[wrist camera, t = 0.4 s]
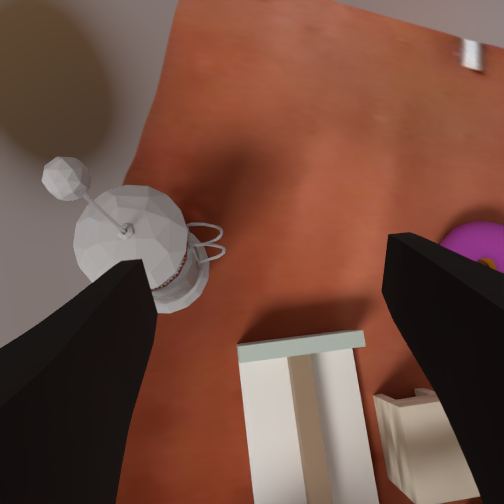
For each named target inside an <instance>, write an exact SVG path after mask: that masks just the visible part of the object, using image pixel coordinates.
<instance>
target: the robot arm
mask: <svg viewBox="0 0 504 504" xmlns="http://www.w3.org/2000/svg"><path fill="white" fill-rule="evenodd" d="M382 294H383V296H384V299H385V301H386V304H387V307H388V309H389V311H390V314H391V316H392V318H393V320H394V322H395V324H396V326H397V328H398V329H399V331H400V333H401V335H402V336H403V338H404V340H405V341H406V343H407V345H408V347H409V348H410V350H411V352H412V353H413V355H414V357H415V358H416V360H417V362H418V363H419V365H420V367H421V368H422V370H423V372H424V374H425V375H426V377H427V379H428V380H429V382H430V384H431V386H432V387H433V389H434V391H435V393H436V395H437V397H438V399H439V401H440V403H441V405H442V407H443V409H444V412H445V414H446V416H447V418H448V420H449V423H450V425H451V427H452V429H453V431H454V434H455V436H456V438H457V440H458V443H459V445H460V448H461V450H462V452H463V455H464V457H465V459H466V462H467V464H468V466H469V469H470V471H471V473H472V476H473V478H474V481H475V483H476V486H477V488H478V491H479V494H480V496H481V499H482V501H483V504H504V273H502V272H499V271H497V270H494V269H492V268H490V267H487V266H485V265H483V264H480V263H478V262H476V261H474V260H471V259H469V258H467V257H465V256H463V255H460V254H458V253H456V252H454V251H452V250H450V249H447V248H445V247H443V246H441V245H439V244H437V243H435V242H432V241H430V240H428V239H426V238H423V237H421V236H418V235H416V234H413V233H410V232H408V233H398V234H388V242H387V250H386V258H385V267H384V275H383V284H382ZM157 315H158V312H157V309H156V305H155V302H154V298H153V295H152V292H151V288H150V285H149V281H148V278H147V274H146V271H145V267H144V264H143V261H142V259H134V260H124V261H120V262H119V263H117V264H116V265H114V266H113V267H112V268H110V269H109V270H108V271H106V272H105V273H104V274H103V275H101V276H100V277H99V278H98V279H96V280H95V281H94V282H93V283H92V284H90V285H89V286H88V287H86V288H85V289H84V290H83V291H81V292H80V293H79V294H78V295H76V296H75V297H74V298H73V299H71V300H70V301H69V302H67V303H66V304H65V305H63V306H62V307H61V308H59V309H58V310H56V311H55V312H54V313H52V314H51V315H50V316H48V317H47V318H46V319H44V320H43V321H41V322H40V323H39V324H37V325H36V326H34V327H33V328H31V329H30V330H28V331H27V332H25V333H24V334H22V335H21V336H19V337H18V338H16V339H14V340H13V341H11V342H10V343H8V344H7V345H5V346H3V347H2V348H0V504H115V503H116V497H117V491H118V485H119V479H120V473H121V467H122V461H123V456H124V451H125V445H126V440H127V435H128V430H129V425H130V421H131V417H132V414H133V410H134V407H135V403H136V400H137V397H138V393H139V390H140V387H141V383H142V380H143V377H144V373H145V370H146V367H147V363H148V360H149V356H150V353H151V349H152V346H153V342H154V336H155V330H156V322H157Z"/></svg>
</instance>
